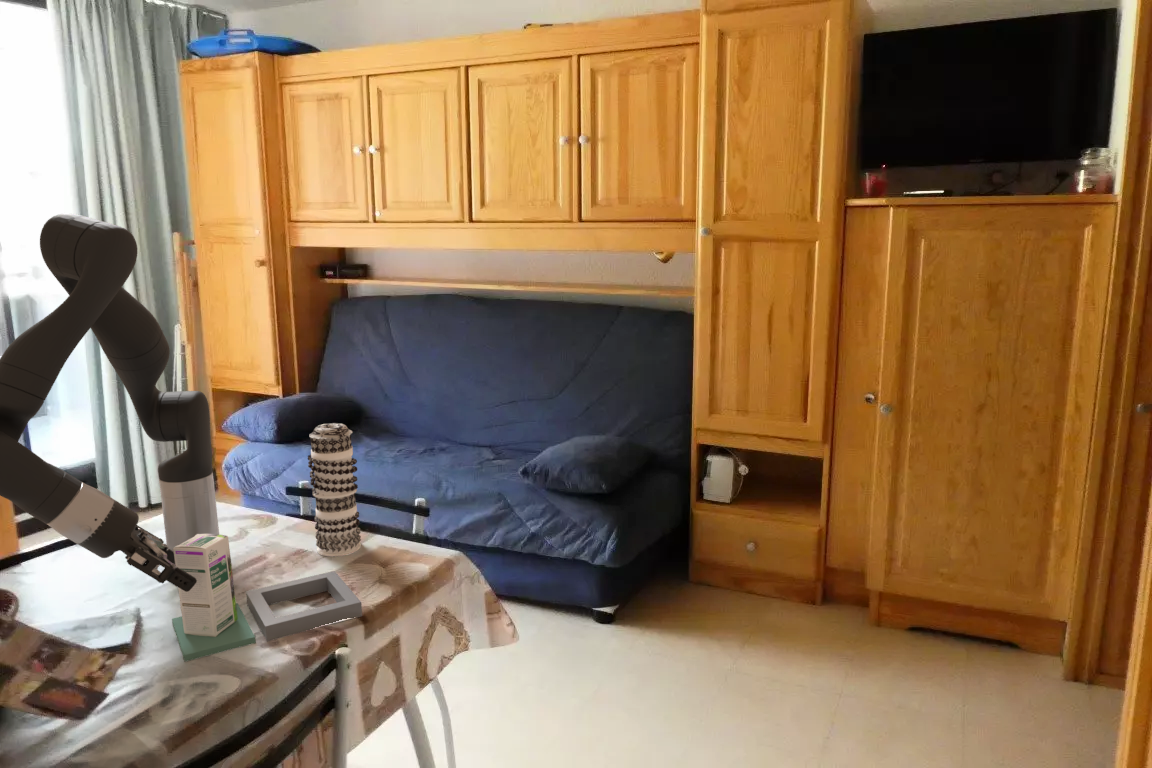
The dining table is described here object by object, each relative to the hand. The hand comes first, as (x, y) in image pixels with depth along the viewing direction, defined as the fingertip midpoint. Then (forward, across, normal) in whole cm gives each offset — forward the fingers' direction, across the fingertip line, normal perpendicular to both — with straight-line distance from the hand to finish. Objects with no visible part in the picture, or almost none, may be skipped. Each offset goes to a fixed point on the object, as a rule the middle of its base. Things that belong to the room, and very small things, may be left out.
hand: (188, 576), depth 126 cm
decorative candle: (+28, +24, -14) cm, 40 cm away
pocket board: (+19, 0, -4) cm, 20 cm away
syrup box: (+8, 0, +5) cm, 10 cm away
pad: (+9, 0, +5) cm, 11 cm away
